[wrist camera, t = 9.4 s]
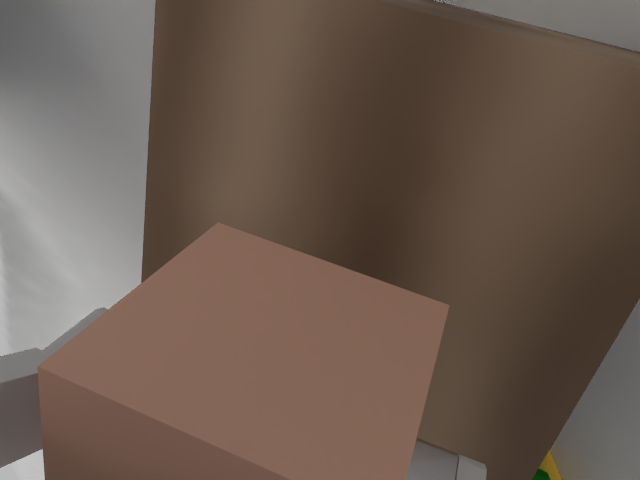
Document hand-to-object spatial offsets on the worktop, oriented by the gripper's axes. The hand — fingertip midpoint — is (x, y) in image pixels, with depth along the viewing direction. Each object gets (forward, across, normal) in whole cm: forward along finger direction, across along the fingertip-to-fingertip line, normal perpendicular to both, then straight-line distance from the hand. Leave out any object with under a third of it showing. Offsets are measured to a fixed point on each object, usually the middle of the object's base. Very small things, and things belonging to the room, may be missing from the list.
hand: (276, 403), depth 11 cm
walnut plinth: (+10, 0, 0) cm, 10 cm away
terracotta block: (+2, 0, 0) cm, 2 cm away
